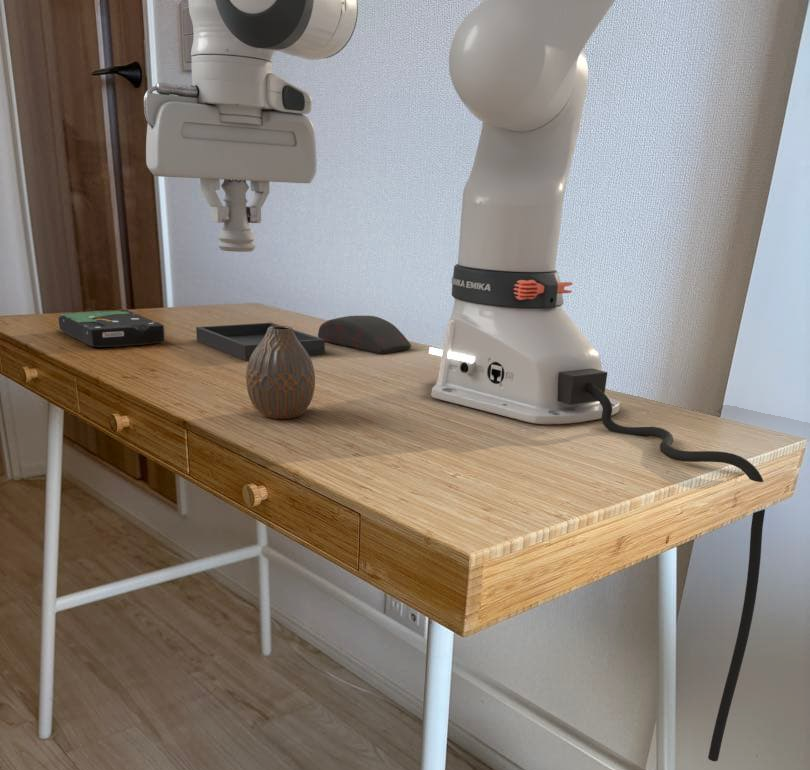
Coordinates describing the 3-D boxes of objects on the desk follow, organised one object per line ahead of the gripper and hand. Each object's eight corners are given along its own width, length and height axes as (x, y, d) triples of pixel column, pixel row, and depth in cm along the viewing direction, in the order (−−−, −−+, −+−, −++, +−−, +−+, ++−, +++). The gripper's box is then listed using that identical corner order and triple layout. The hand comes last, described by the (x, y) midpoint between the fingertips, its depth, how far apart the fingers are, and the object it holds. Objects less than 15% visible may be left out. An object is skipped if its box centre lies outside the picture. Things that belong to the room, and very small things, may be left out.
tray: (324, 353, 116) (324, 339, 115) (245, 360, 109) (245, 345, 108) (271, 335, 127) (271, 322, 126) (196, 341, 120) (196, 327, 119)
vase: (276, 427, 81) (275, 335, 78) (233, 412, 85) (230, 325, 82) (328, 415, 86) (329, 329, 82) (285, 402, 90) (284, 319, 86)
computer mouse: (348, 335, 130) (349, 309, 129) (415, 349, 122) (416, 321, 121) (311, 340, 125) (311, 313, 123) (378, 355, 117) (379, 326, 115)
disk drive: (167, 345, 117) (127, 326, 127) (166, 324, 116) (125, 308, 126) (93, 350, 111) (57, 331, 121) (91, 329, 110) (55, 311, 120)
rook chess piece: (259, 250, 101) (258, 178, 98) (250, 252, 97) (249, 178, 94) (224, 247, 102) (221, 176, 98) (213, 250, 98) (210, 176, 94)
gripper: (154, 78, 85) (163, 223, 90) (324, 98, 96) (323, 225, 102) (131, 81, 89) (141, 219, 94) (295, 100, 101) (296, 222, 106)
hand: (236, 222), depth 98 cm, fingers closed on rook chess piece, 3 cm apart
